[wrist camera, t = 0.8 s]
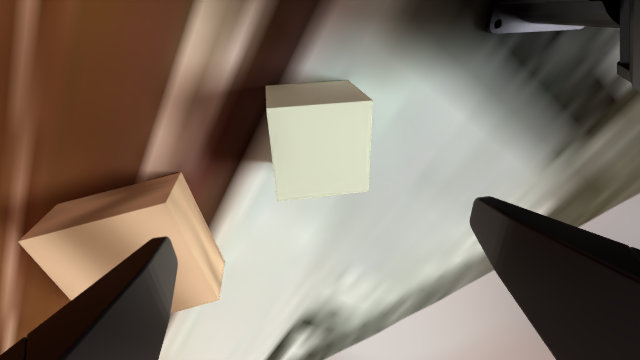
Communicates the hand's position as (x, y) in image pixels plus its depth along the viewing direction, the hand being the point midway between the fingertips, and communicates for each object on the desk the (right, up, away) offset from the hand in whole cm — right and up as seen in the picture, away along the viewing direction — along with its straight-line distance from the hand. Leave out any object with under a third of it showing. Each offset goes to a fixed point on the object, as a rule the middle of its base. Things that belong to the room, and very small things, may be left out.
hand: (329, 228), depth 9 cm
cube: (-1, +5, +11) cm, 12 cm away
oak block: (-12, -2, +13) cm, 18 cm away
